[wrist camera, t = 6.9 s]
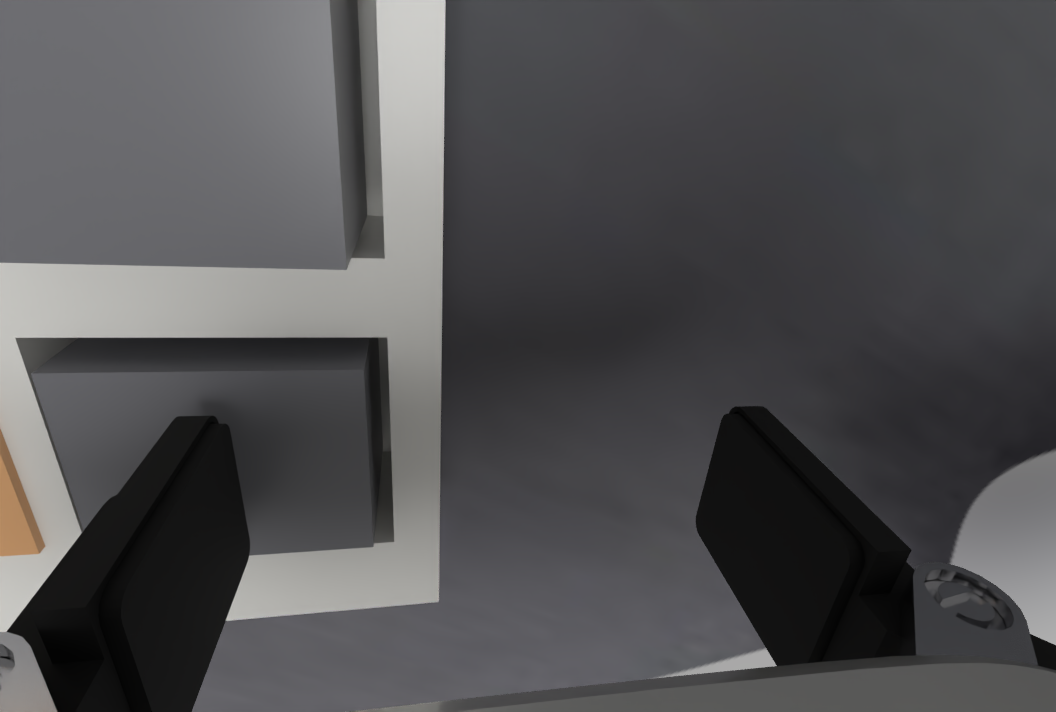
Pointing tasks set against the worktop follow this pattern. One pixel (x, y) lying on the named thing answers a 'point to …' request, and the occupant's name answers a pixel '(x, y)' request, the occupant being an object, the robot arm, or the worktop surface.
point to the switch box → (271, 312)
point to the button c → (230, 425)
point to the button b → (181, 133)
